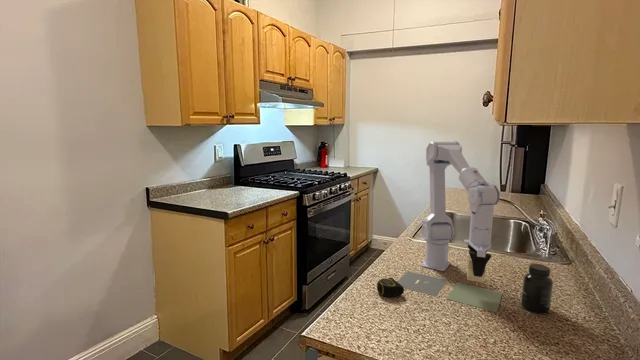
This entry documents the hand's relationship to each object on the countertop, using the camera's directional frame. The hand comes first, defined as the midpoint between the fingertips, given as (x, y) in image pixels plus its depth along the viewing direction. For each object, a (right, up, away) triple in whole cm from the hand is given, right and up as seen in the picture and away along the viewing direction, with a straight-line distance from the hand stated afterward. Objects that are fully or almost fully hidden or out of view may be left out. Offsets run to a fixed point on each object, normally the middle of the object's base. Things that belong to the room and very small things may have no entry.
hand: (477, 272), depth 103 cm
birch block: (0, -2, 0) cm, 2 cm away
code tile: (-13, -6, +10) cm, 18 cm away
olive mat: (0, -7, +1) cm, 7 cm away
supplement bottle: (+14, -9, -5) cm, 17 cm away
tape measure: (-25, -7, +3) cm, 26 cm away
